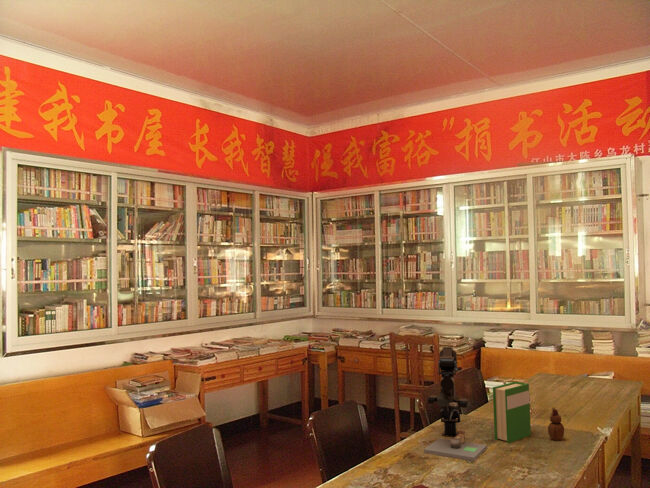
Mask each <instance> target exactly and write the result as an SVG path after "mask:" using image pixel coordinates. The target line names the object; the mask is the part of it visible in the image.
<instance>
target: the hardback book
mask: <svg viewBox="0 0 650 488" xmlns="http://www.w3.org/2000/svg"><path fill="white" fill-rule="evenodd" d="M492 400H493V401H492V403H493V404H492V405H493V428H494V440H495V441H498V440H502V441H506V443H507V444H512V443H514V442H516V441H519V440H520V441H521V439H522V440H523V439H525V438H527V437H531V436H532V431H531V429H532V427H531V426H532V425H531V410H530V409H531V405H530V403H531V402H530V384H529V383H524V382H519V381H513V382H509V383H504V384H501V385H497V386H493V387H492Z"/></svg>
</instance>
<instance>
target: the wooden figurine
mask: <svg viewBox="0 0 650 488" xmlns="http://www.w3.org/2000/svg"><path fill="white" fill-rule="evenodd" d="M549 421H550V423H548V425H547V432H548V435H549V438H550V439H551V440H553V441H562V440H563V438H564V436H565V427H564V424H563V423H561V422H562V417H561V415H560V414H559V412H558V410H557V409H556V407H554V406H553V407H552V414H551V415H550V416H549Z"/></svg>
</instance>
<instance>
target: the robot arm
mask: <svg viewBox="0 0 650 488" xmlns="http://www.w3.org/2000/svg"><path fill="white" fill-rule="evenodd" d="M457 355H458V354H457V352H456V351H455V350H454V349H453V347H451V346H444V347H442V350H441V351H439V360H438V362H437V363H438V364H437V365H438V375H441V376H440V387H441V388H440V391H439V394H438V395H435V394H431V395H430V396H428V397H427V398H426V403H427V404H430V405H434V404H435V403H437V405H438V406H439V407H440V408H441V409H440V422H441V423H443V427H444V428H443V430H444V432H442V433H441V435H442V436H444V437H446V436H447V437H451V438H455V437H456V436H457V435H459V431H457V424H459V423H461V413H460V412H459V409H458V407H459V408H465V409H466V408H468V407H470V406H471V400H470V399H469V398H464V397H463V398H460V399H456V393H455V390H456V386H455V376H454V375H456V374H457V373H458V356H457Z"/></svg>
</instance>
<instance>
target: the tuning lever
mask: <svg viewBox="0 0 650 488" xmlns="http://www.w3.org/2000/svg"><path fill="white" fill-rule="evenodd" d="M458 432H459V434H458V435H457V436H455V437H451V438H450V439H449V440H450V446H451V447H454V448H459V447H461V443H462V442H466V438H465V437H466V436H465V431H464V430H459V431H458Z"/></svg>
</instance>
